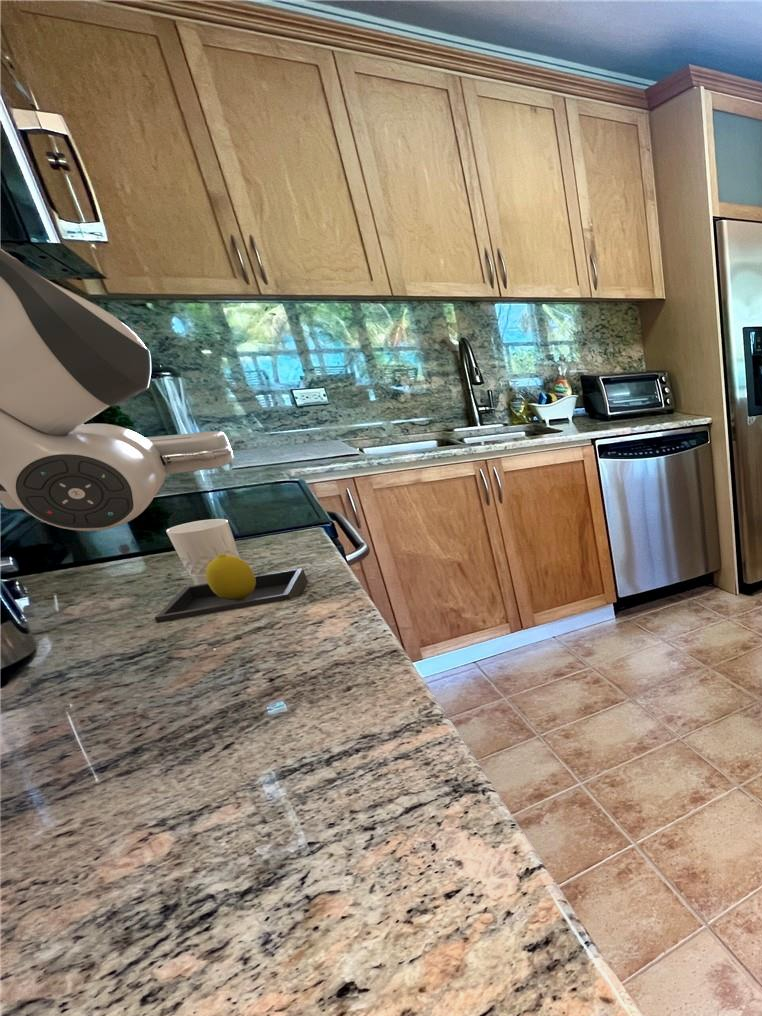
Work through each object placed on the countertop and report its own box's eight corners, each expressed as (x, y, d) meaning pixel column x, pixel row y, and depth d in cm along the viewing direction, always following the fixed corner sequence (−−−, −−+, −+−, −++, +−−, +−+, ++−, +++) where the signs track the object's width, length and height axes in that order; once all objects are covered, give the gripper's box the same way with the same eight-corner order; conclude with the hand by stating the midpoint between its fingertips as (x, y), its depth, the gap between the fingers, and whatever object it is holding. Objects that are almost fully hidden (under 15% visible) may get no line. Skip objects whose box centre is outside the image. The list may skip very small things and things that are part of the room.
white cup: (205, 576, 113) (182, 522, 109) (257, 570, 115) (236, 516, 111) (181, 592, 106) (155, 535, 102) (237, 585, 109) (213, 529, 105)
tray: (161, 633, 92) (154, 617, 91) (191, 601, 103) (184, 586, 102) (293, 609, 98) (287, 594, 97) (308, 581, 109) (303, 567, 108)
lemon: (209, 607, 99) (188, 558, 95) (247, 593, 103) (228, 547, 100) (234, 611, 97) (214, 561, 94) (271, 596, 102) (253, 549, 99)
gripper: (220, 426, 73) (225, 415, 83) (-53, 449, 62) (-9, 433, 72) (241, 480, 76) (243, 463, 86) (-18, 512, 64) (20, 488, 74)
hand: (126, 450), depth 79 cm, fingers open, 8 cm apart
